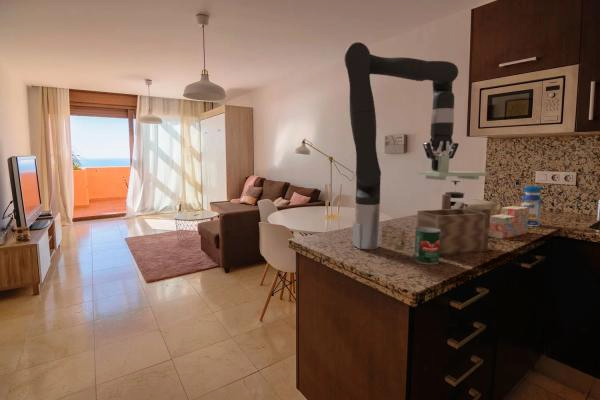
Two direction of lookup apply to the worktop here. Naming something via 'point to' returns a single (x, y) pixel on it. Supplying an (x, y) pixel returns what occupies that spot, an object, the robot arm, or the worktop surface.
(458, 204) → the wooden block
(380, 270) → the worktop surface
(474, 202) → the key bar
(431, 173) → the lid
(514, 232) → the stack of blocks
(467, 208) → the post
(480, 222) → the storage box
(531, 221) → the beverage bottle
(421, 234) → the canned tomato
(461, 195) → the french press
